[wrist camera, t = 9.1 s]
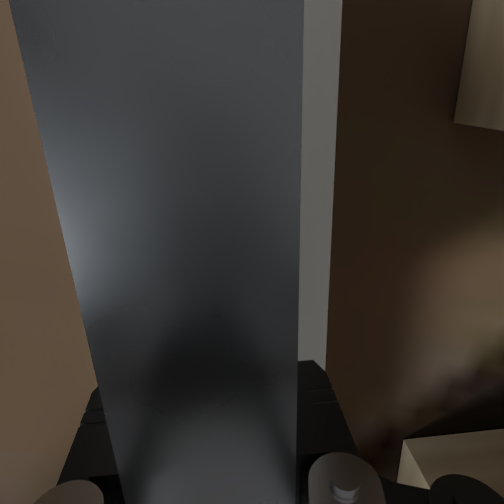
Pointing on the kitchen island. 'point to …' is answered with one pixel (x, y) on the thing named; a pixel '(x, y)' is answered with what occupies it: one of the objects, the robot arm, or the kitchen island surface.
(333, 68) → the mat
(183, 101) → the rail
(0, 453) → the kitchen island surface
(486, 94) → the post
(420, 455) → the post
